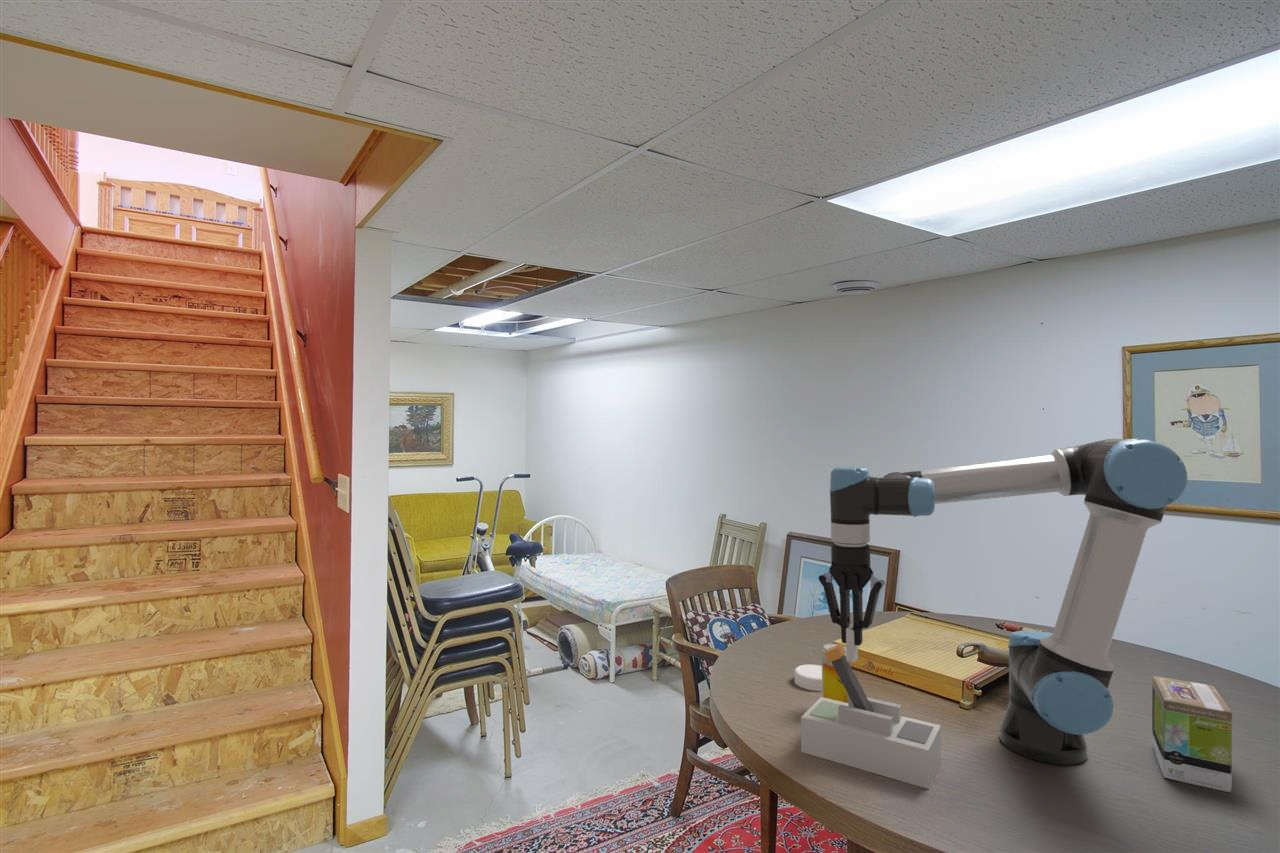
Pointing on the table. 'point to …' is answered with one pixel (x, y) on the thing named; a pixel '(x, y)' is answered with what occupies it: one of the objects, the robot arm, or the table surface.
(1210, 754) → the tea box
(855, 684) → the lever
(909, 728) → the breaker block
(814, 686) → the white short cylinder
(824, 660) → the beer can
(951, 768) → the table surface
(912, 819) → the table surface
